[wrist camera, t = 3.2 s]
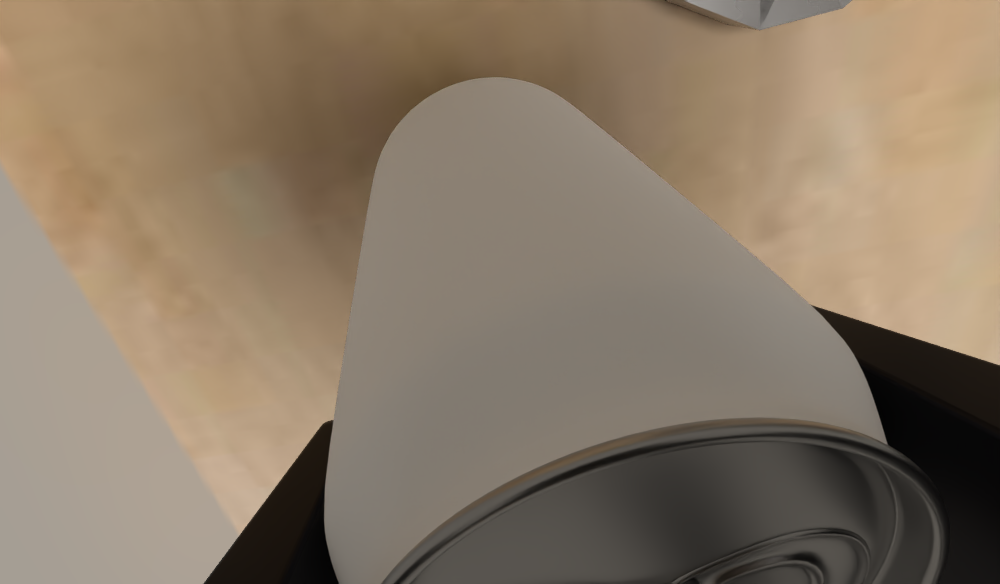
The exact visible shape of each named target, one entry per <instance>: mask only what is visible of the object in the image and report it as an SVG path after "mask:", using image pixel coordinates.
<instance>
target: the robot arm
mask: <svg viewBox="0 0 1000 584" xmlns="http://www.w3.org/2000/svg"><path fill="white" fill-rule="evenodd" d="M811 306H812V305H811ZM812 307H814V308H815V309H816V310H817V311H818V312H819V313H820V314H821V315H822V316H823V317H824V319H825V320H826V321H827V322H828V323H829V324H830V325H831V326H832V327H833V329H834V330H835V331H836V332H837V333H838V334H839V335H840V336H841V337H842V339H843V340H844V341H845V342H846V344H847V345H848V346H849V348H850V349H851V351H852V353H853V354H854V356H855V358H856V360H857V361H858V363H859V365H860V367H861V369H862V371H863V373H864V376H865V378H866V380H867V383H868V385H869V388H870V391H871V393H872V396H873V399H874V402H875V405H876V408H877V411H878V414H879V417H880V421H881V424H882V428H883V431H884V434H885V438H886V441H887V444H888V445H889V446H890V447H892V448H894V449H895V450H897V451H899V452H900V453H902V454H903V455H905V456H906V457H907V458H909V459H910V460H911V461H912V462H914V463H915V464H916V465H917V466H918V467H919V468H920V469H921V470H922V471H923V472H924V473H925V474H926V475H927V476H928V477H929V478H930V480H931V481H932V482H933V484H934V485H935V487H936V488H937V490H938V491H939V493H940V495H941V497H942V499H943V501H944V504H945V507H946V510H947V513H948V517H949V523H950V547H949V553H948V558H947V562H946V565H945V569H944V571H943V574H942V576H941V579H940V581H939V583H938V584H1000V365H997V364H994V363H991V362H987V361H984V360H981V359H978V358H975V357H972V356H969V355H966V354H962V353H959V352H956V351H953V350H950V349H947V348H944V347H940V346H937V345H934V344H931V343H928V342H925V341H922V340H919V339H915V338H912V337H909V336H906V335H903V334H900V333H897V332H894V331H890V330H887V329H884V328H881V327H878V326H875V325H872V324H869V323H865V322H862V321H859V320H856V319H853V318H850V317H847V316H844V315H840V314H837V313H834V312H831V311H828V310H825V309H822V308H818V307H815V306H812ZM333 421H334V420H331V421H328V422H325V423H324V424H323V425H322V426H321V427H320V428H319V430H318V431H317V432H316V434H315V435H314V436H313V438H312V439H311V440H310V442H309V443H308V444H307V446H306V447H305V448H304V450H303V451H302V452H301V454H300V455H299V456H298V458H297V459H296V460H295V462H294V463H293V464H292V466H291V467H290V468H289V470H288V471H287V472H286V474H285V475H284V476H283V478H282V479H281V481H280V482H279V483H278V485H277V486H276V487H275V489H274V490H273V491H272V493H271V494H270V495H269V497H268V498H267V499H266V501H265V502H264V503H263V505H262V506H261V507H260V509H259V510H258V511H257V513H256V514H255V515H254V517H253V518H252V519H251V521H250V522H249V523H248V525H247V526H246V527H245V529H244V530H243V531H242V533H241V534H240V535H239V537H238V538H237V539H236V541H235V542H234V544H233V545H232V546H231V548H230V549H229V550H228V552H227V553H226V554H225V556H224V557H223V558H222V560H221V561H220V562H219V564H218V565H217V566H216V568H215V569H214V571H213V572H212V573H211V574H210V576H209V577H208V578H207V580H206V581H205V582H204V584H339V582H338V580H337V577H336V574H335V571H334V569H333V565H332V562H331V559H330V555H329V551H328V546H327V542H326V536H325V527H324V502H325V482H326V473H327V465H328V457H329V448H330V441H331V434H332V427H333Z"/></svg>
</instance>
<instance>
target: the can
mask: <svg viewBox="0 0 1000 584" xmlns="http://www.w3.org/2000/svg"><path fill="white" fill-rule="evenodd" d="M324 527H325V536H326V542H327V546H328V551H329V555H330V559H331V562H332V565H333V569H334V571H335V574H336V577H337V580H338V582H339V584H938V583H939V581H940V579H941V576H942V574H943V571H944V569H945V565H946V562H947V558H948V553H949V547H950V523H949V517H948V513H947V510H946V507H945V504H944V501H943V499H942V497H941V495H940V493H939V491H938V490H937V488H936V487H935V485H934V484H933V482H932V481H931V480H930V478H929V477H928V476H927V475H926V474H925V473H924V472H923V471H922V470H921V469H920V468H919V467H918V466H917V465H916V464H915V463H914V462H912V461H911V460H910V459H909V458H907V457H906V456H905V455H903V454H902V453H900V452H899V451H897V450H895V449H894V448H892V447H890V446H889V445H888V444H887V441H886V438H885V434H884V431H883V428H882V424H881V421H880V417H879V414H878V411H877V408H876V405H875V402H874V399H873V396H872V393H871V391H870V388H869V385H868V383H867V380H866V378H865V376H864V373H863V371H862V369H861V367H860V365H859V363H858V361H857V360H856V358H855V356H854V354H853V353H852V351H851V349H850V348H849V346H848V345H847V344H846V342H845V341H844V340H843V339H842V337H841V336H840V335H839V334H838V333H837V332H836V331H835V330H834V329H833V327H832V326H831V325H830V324H829V323H828V322H827V321H826V320H825V319H824V317H823V316H822V315H821V314H820V313H819V312H818V311H817V310H816V309H815V308H814V307H812V306H811V305H810V304H809V303H808V302H807V301H806V300H805V299H804V298H802V297H801V296H800V295H799V294H798V293H797V292H796V291H795V290H794V289H793V288H791V287H790V286H789V285H788V284H787V283H786V282H785V281H784V280H783V279H781V278H780V277H779V276H778V275H777V274H775V273H774V272H773V271H772V270H771V269H770V268H768V267H767V266H766V265H765V264H764V263H763V262H761V261H760V260H759V259H758V258H757V257H755V256H754V255H753V254H752V253H751V252H750V251H748V250H747V249H746V248H745V247H744V246H743V245H741V244H740V243H739V242H738V241H737V240H735V239H734V238H733V237H732V236H731V235H729V234H728V233H727V232H726V231H725V230H724V229H722V228H721V227H720V226H719V225H718V224H716V223H715V222H714V221H713V220H712V219H710V218H709V217H708V216H707V215H706V214H704V213H703V212H702V211H701V210H700V209H698V208H697V207H696V206H695V205H694V204H692V203H691V202H690V201H689V200H688V199H686V198H685V197H684V196H683V195H682V194H680V193H679V192H678V191H677V190H676V189H674V188H673V187H672V186H671V185H670V184H668V183H667V182H666V181H665V180H664V179H662V178H661V177H660V176H659V175H658V174H656V173H655V172H654V171H653V170H651V169H650V168H649V167H648V166H647V165H645V164H644V163H643V162H642V161H641V160H639V159H638V158H637V157H636V156H635V155H633V154H632V153H631V152H630V151H628V150H627V149H626V148H625V147H624V146H622V145H621V144H620V143H619V142H618V141H616V140H615V139H614V138H613V137H611V136H610V135H609V134H608V133H607V132H605V131H604V130H603V129H602V128H600V127H599V126H598V125H597V124H595V123H594V122H593V121H592V120H591V119H589V118H588V117H587V116H586V115H584V114H583V113H582V112H581V111H579V110H578V109H577V108H575V107H574V106H573V105H571V104H570V103H569V102H567V101H566V100H565V99H563V98H562V97H560V96H559V95H557V94H555V93H554V92H552V91H550V90H548V89H546V88H543V87H541V86H539V85H536V84H533V83H530V82H527V81H523V80H518V79H512V78H503V77H487V78H477V79H472V80H467V81H463V82H459V83H456V84H453V85H451V86H448V87H446V88H444V89H441V90H439V91H437V92H436V93H434V94H432V95H430V96H429V97H427V98H426V99H424V100H423V101H422V102H420V103H419V104H418V105H416V106H415V107H414V108H413V109H412V110H411V111H410V112H409V113H408V114H407V115H406V116H405V117H404V118H403V119H402V120H401V121H400V122H399V124H398V125H397V126H396V127H395V129H394V130H393V132H392V133H391V135H390V136H389V138H388V140H387V142H386V144H385V146H384V148H383V150H382V152H381V154H380V157H379V160H378V163H377V166H376V170H375V174H374V178H373V183H372V188H371V193H370V199H369V204H368V210H367V216H366V222H365V228H364V233H363V239H362V245H361V251H360V257H359V263H358V269H357V276H356V282H355V288H354V294H353V300H352V306H351V312H350V318H349V325H348V331H347V337H346V344H345V350H344V356H343V362H342V369H341V375H340V381H339V388H338V394H337V401H336V407H335V414H334V421H333V427H332V434H331V441H330V448H329V457H328V465H327V473H326V482H325V502H324Z"/></svg>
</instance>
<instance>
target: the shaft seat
mask: <svg viewBox="0 0 1000 584" xmlns="http://www.w3.org/2000/svg"><path fill="white" fill-rule="evenodd" d="M665 1H668V2H671V3H673V4H676V5H678V6H681V7H684V8H686V9H689V10H691V11H694V12H697V13H699V14H702V15H704V16H707V17H710V18H712V19H715V20H717V21H720V22H723V23H725V24H727V25H733V26H739V27H744V28H750V29H755V30H762V29H766V28H770V27H773V26H777V25H781V24H785V23H789V22H792V21H796V20H800V19H804V18H807V17H811V16H815V15H819V14H823V13H826V12H830V11H834V10H838V9H842V8H844V7H845V6H846V5H847V4H848V3H849V2H851V1H852V0H665Z"/></svg>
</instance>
